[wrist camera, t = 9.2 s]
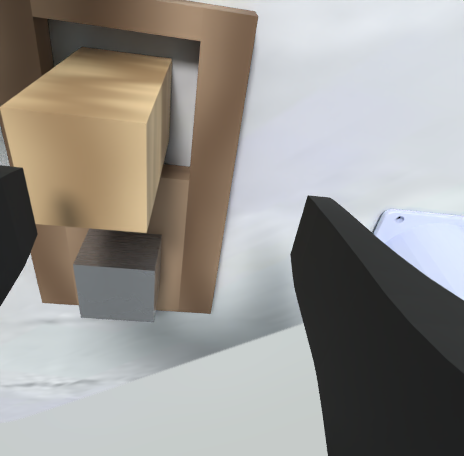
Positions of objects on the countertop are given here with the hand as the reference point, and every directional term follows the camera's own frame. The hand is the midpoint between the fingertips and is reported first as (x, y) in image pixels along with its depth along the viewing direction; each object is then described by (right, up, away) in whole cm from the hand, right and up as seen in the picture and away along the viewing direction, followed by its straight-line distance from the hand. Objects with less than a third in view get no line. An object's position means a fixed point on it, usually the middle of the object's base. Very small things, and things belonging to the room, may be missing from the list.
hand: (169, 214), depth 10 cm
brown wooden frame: (-4, +2, +11) cm, 12 cm away
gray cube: (-5, -1, +14) cm, 14 cm away
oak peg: (-3, +6, +8) cm, 11 cm away
